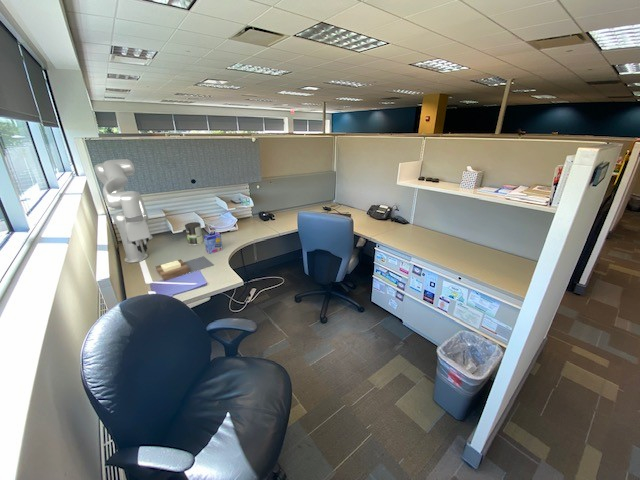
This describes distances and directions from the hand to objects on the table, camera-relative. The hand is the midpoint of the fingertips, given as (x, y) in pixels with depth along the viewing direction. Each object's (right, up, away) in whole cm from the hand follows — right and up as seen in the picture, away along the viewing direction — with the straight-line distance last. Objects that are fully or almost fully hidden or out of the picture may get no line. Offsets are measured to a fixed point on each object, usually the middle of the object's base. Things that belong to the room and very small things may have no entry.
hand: (143, 251), depth 147 cm
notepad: (+8, -10, +13) cm, 18 cm away
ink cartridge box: (+23, -2, +41) cm, 47 cm away
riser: (+9, -13, +14) cm, 21 cm away
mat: (+19, -9, +23) cm, 31 cm away
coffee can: (+4, +4, +54) cm, 54 cm away
